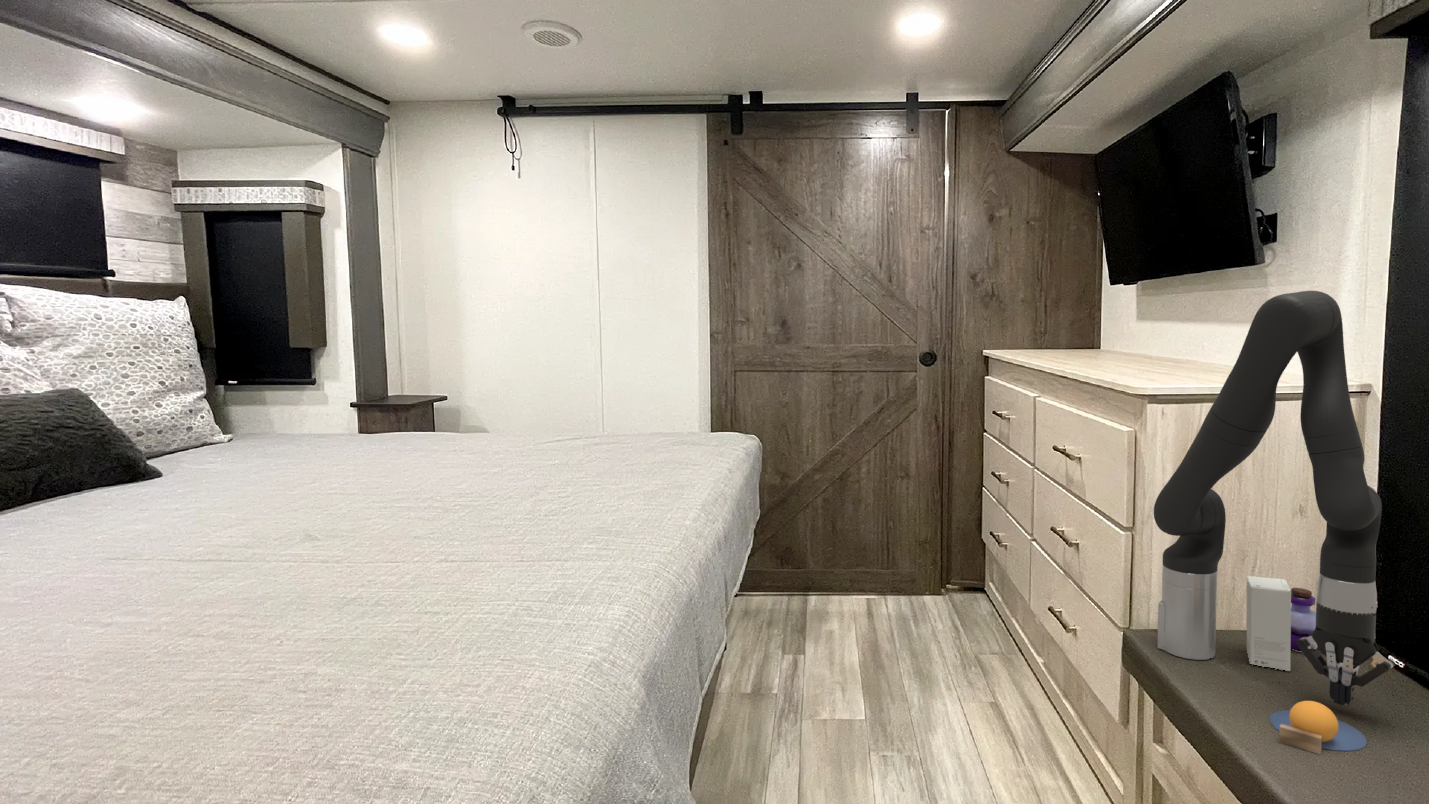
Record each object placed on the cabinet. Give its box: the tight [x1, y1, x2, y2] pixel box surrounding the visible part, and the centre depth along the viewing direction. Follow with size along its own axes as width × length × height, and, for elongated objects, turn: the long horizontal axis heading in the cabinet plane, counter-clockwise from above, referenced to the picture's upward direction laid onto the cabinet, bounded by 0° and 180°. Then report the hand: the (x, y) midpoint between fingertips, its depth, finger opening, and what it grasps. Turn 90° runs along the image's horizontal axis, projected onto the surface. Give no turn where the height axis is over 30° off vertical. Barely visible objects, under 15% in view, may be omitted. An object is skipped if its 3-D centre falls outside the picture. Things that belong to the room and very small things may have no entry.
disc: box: [1269, 709, 1367, 752], centre depth 118 cm, size 12×12×1 cm
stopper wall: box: [1278, 724, 1323, 755], centre depth 114 cm, size 5×1×2 cm, turn 43°
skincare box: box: [1246, 575, 1292, 672], centre depth 142 cm, size 8×7×16 cm
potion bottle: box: [1290, 587, 1319, 651], centre depth 148 cm, size 9×9×12 cm
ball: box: [1289, 700, 1339, 742], centre depth 115 cm, size 6×6×6 cm
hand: (1341, 703), depth 123 cm, fingers closed
